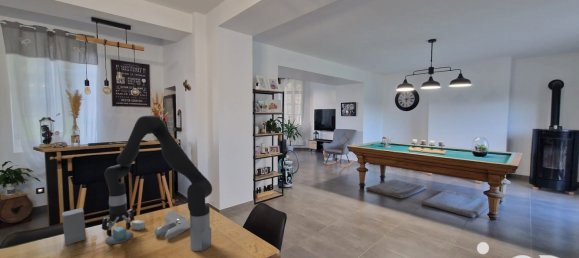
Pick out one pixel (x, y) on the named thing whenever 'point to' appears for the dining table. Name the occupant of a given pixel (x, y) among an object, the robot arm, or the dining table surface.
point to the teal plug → (119, 233)
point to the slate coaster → (114, 241)
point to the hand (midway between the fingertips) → (119, 232)
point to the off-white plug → (138, 225)
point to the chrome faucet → (172, 225)
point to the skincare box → (74, 226)
